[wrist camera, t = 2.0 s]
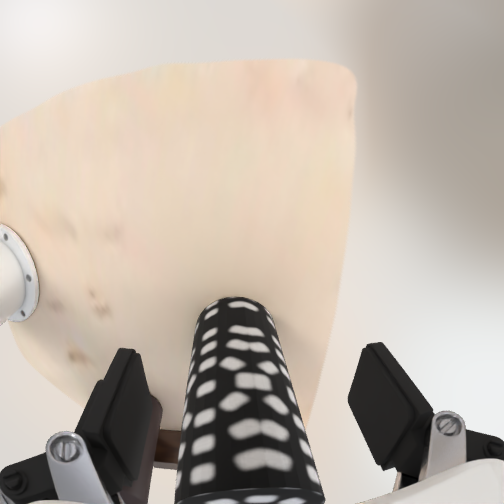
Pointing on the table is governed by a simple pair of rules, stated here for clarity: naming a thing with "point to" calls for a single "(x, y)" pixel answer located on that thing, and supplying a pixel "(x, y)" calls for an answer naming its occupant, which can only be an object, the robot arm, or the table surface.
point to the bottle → (145, 461)
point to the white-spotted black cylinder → (242, 415)
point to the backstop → (167, 449)
